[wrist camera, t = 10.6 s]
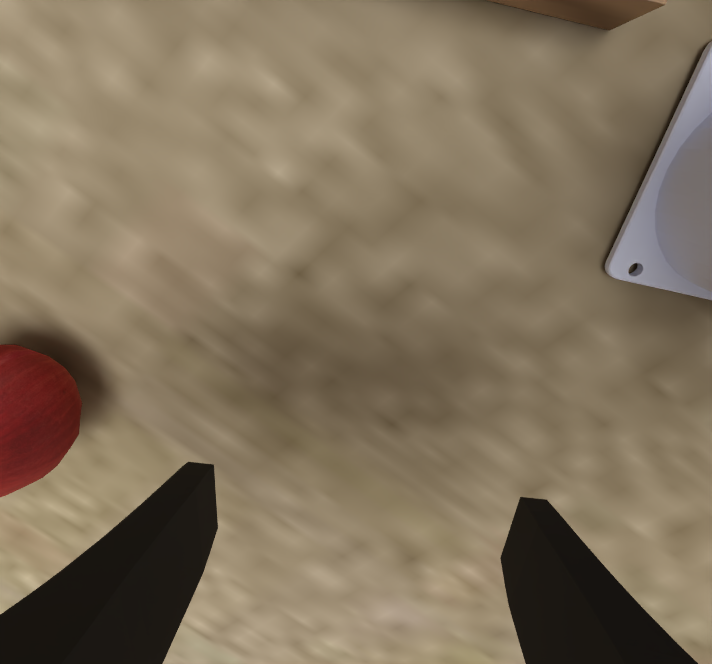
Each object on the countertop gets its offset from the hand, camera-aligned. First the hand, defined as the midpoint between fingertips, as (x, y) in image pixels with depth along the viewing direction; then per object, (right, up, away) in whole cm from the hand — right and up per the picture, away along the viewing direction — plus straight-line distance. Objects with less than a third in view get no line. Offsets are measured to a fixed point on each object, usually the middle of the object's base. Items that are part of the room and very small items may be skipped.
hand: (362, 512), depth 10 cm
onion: (-14, +2, +10) cm, 18 cm away
